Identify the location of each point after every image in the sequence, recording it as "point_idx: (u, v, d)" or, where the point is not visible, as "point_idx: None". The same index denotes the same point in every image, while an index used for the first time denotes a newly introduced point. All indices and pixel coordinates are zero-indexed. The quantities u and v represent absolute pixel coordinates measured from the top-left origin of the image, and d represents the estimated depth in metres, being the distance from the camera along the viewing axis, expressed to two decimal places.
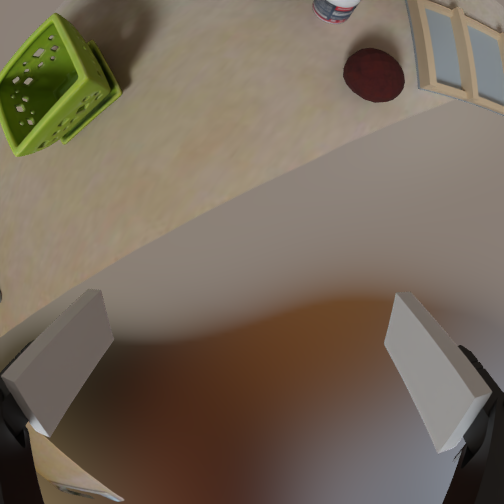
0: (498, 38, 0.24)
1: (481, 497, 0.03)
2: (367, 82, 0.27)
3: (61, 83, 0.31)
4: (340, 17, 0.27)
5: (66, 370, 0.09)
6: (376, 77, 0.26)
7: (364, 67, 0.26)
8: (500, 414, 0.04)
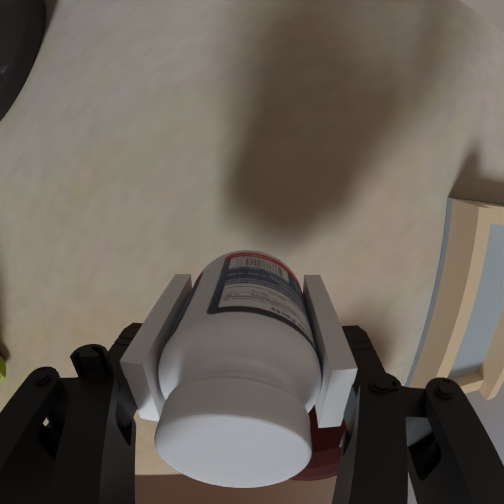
0: None
1: (357, 492, 0.04)
2: None
3: None
4: None
5: None
6: None
7: None
8: (367, 399, 0.06)
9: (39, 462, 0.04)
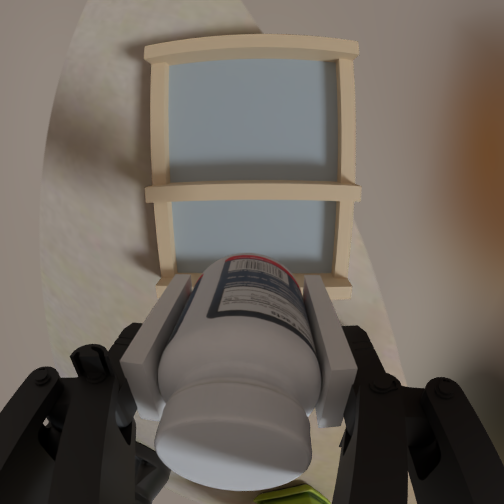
0: (165, 67, 0.20)
1: (358, 491, 0.04)
2: None
3: None
4: None
5: None
6: None
7: None
8: (366, 399, 0.06)
9: (39, 462, 0.04)
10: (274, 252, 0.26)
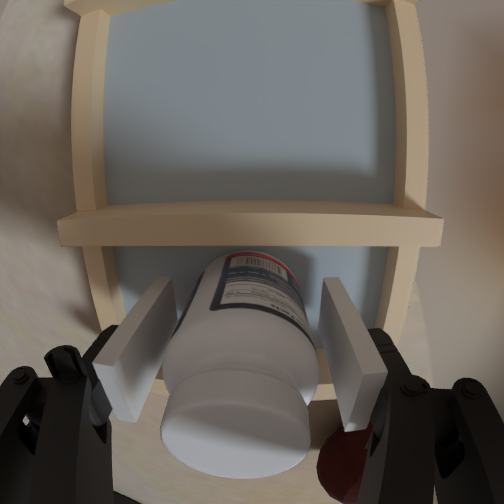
0: (102, 17, 0.09)
1: (387, 491, 0.04)
2: None
3: None
4: None
5: (148, 354, 0.10)
6: None
7: None
8: (397, 400, 0.06)
9: (21, 459, 0.04)
10: None
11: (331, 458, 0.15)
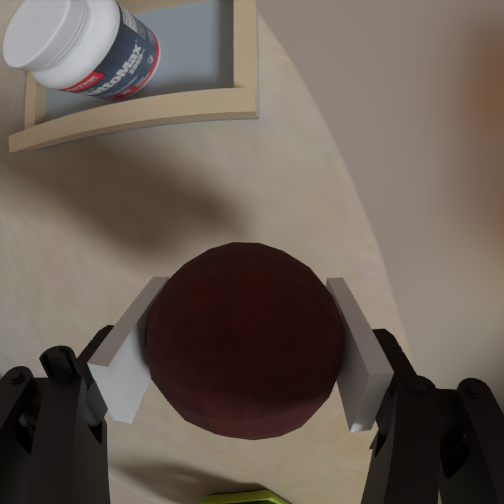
0: None
1: (392, 491, 0.04)
2: (294, 428, 0.09)
3: None
4: (109, 92, 0.12)
5: (144, 355, 0.10)
6: (280, 426, 0.08)
7: (242, 438, 0.09)
8: (403, 401, 0.06)
9: (18, 458, 0.04)
10: None
11: (156, 299, 0.10)
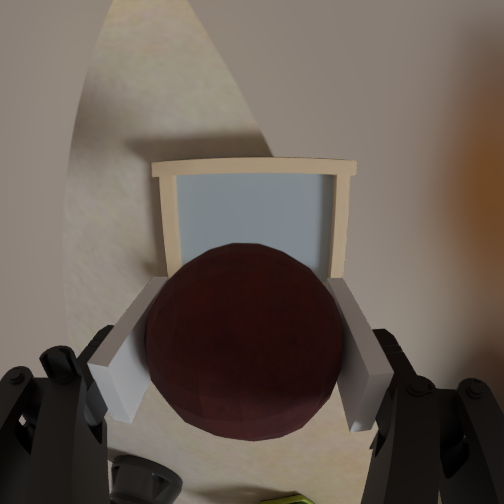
0: (173, 178, 0.24)
1: (392, 491, 0.04)
2: (294, 430, 0.09)
3: None
4: None
5: (144, 355, 0.10)
6: (280, 427, 0.08)
7: (242, 439, 0.09)
8: (403, 401, 0.06)
9: (18, 458, 0.04)
10: None
11: None
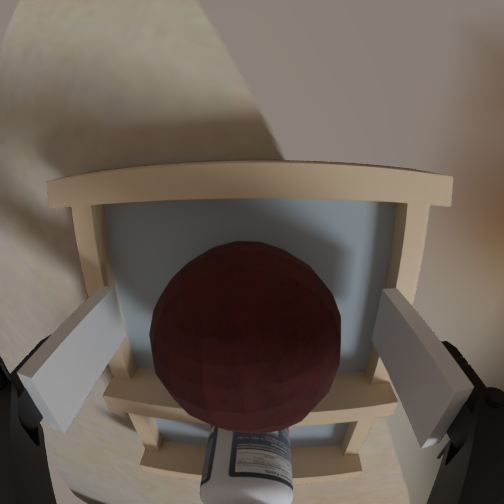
0: (94, 207, 0.12)
1: (465, 495, 0.03)
2: (294, 423, 0.09)
3: None
4: None
5: (81, 366, 0.09)
6: (280, 420, 0.08)
7: (243, 432, 0.09)
8: (483, 411, 0.05)
9: None
10: None
11: (160, 296, 0.10)
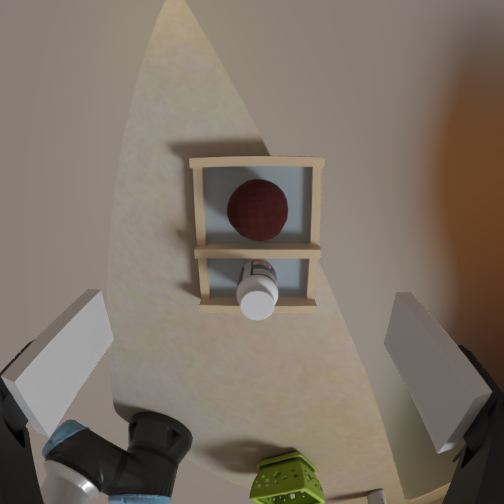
0: (202, 169, 0.37)
1: (481, 497, 0.03)
2: (273, 231, 0.33)
3: (278, 473, 0.59)
4: None
5: (66, 370, 0.09)
6: (268, 224, 0.33)
7: (257, 234, 0.33)
8: (500, 414, 0.04)
9: None
10: None
11: None
